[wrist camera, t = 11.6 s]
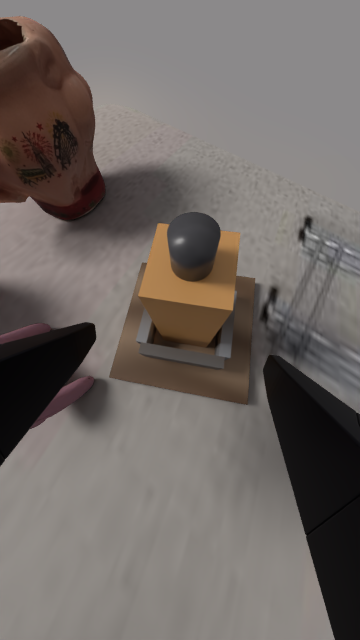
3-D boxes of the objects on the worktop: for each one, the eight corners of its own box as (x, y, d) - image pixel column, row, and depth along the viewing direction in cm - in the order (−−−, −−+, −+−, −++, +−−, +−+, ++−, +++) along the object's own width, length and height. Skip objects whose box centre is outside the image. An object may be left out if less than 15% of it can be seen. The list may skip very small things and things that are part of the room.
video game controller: (34, 347, 22) (-55, 361, 15) (49, 319, 21) (-40, 322, 14) (81, 407, 20) (0, 455, 13) (101, 379, 19) (24, 416, 12)
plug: (206, 347, 19) (246, 290, 6) (163, 340, 19) (124, 273, 7) (211, 307, 20) (253, 197, 8) (171, 301, 20) (151, 187, 8)
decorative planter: (53, 271, 23) (-120, 134, 10) (-9, 236, 26) (-218, 84, 12) (138, 177, 28) (96, 3, 15) (80, 154, 31) (0, -16, 17)
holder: (244, 403, 18) (260, 410, 14) (112, 377, 19) (94, 377, 15) (252, 282, 22) (266, 263, 18) (144, 267, 23) (135, 245, 19)
